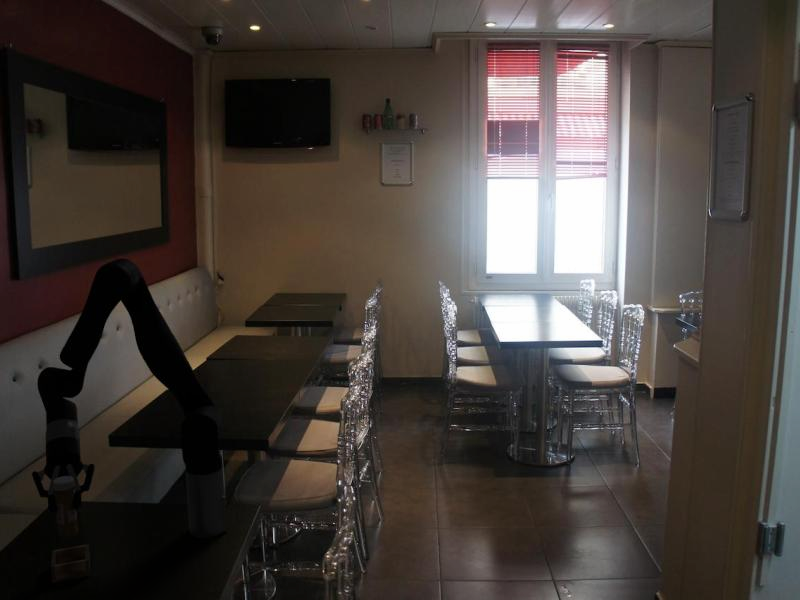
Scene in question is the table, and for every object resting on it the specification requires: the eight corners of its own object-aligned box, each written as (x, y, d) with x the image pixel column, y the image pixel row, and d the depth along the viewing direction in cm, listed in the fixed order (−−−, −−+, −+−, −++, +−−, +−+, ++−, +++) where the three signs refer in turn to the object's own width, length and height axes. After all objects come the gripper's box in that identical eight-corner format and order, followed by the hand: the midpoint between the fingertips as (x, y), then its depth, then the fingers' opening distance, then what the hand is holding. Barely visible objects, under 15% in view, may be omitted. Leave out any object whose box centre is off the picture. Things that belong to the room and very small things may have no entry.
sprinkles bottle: (80, 534, 174) (75, 480, 172) (59, 539, 172) (54, 485, 169) (76, 526, 178) (71, 473, 176) (55, 531, 176) (50, 478, 173)
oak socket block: (90, 559, 182) (88, 544, 181) (90, 576, 175) (88, 560, 174) (53, 565, 179) (52, 550, 178) (52, 583, 172) (50, 567, 171)
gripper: (28, 439, 175) (29, 510, 166) (93, 431, 180) (98, 499, 172) (31, 453, 181) (32, 521, 172) (95, 444, 186) (99, 511, 178)
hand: (65, 510), depth 172 cm, fingers closed on sprinkles bottle, 4 cm apart
